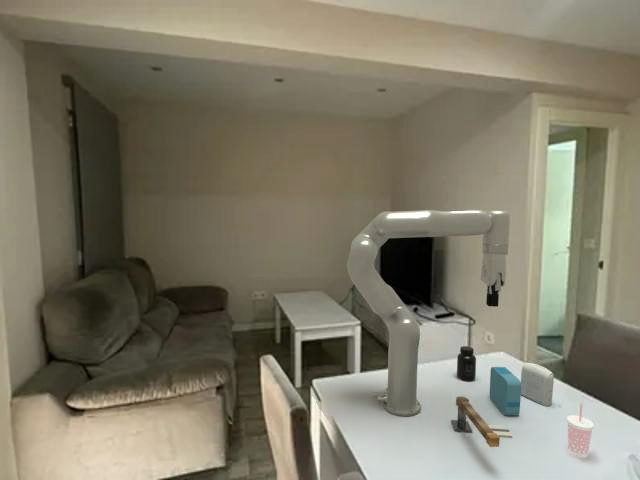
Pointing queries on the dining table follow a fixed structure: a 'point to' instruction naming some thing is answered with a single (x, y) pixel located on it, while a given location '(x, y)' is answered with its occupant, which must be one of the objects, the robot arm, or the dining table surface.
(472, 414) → the swing bar
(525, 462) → the dining table surface
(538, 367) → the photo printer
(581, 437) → the beverage cup
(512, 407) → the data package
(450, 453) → the dining table surface
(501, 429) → the label tile
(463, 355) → the supplement bottle
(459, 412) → the post
